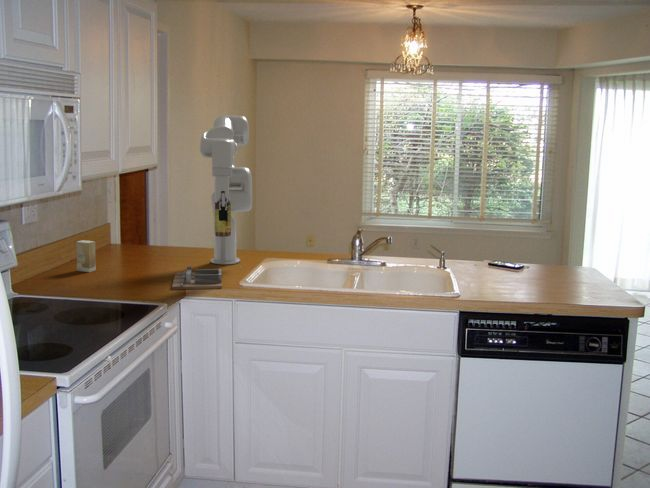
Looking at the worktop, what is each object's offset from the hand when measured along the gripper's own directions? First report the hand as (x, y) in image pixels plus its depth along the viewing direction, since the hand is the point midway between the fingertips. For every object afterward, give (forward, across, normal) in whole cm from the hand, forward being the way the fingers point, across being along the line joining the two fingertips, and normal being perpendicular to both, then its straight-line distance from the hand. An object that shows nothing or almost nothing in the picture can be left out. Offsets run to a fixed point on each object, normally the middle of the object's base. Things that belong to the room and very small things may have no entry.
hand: (222, 218), depth 262 cm
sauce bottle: (+7, 0, 0) cm, 7 cm away
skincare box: (+24, -22, -54) cm, 63 cm away
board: (+24, +2, -10) cm, 26 cm away
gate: (+23, +4, -13) cm, 27 cm away
